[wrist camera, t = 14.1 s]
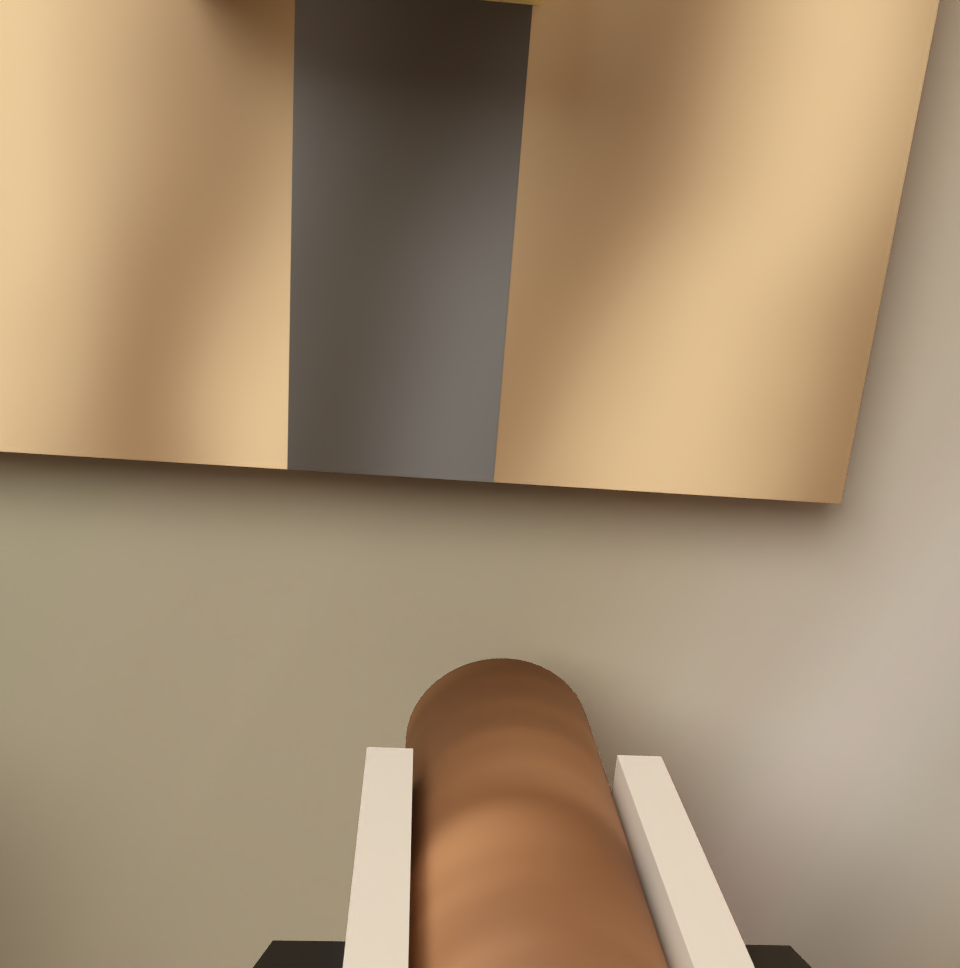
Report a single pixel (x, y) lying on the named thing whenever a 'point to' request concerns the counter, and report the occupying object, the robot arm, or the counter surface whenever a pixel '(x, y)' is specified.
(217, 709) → the counter surface
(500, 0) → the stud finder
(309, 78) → the plywood board
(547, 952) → the awl
